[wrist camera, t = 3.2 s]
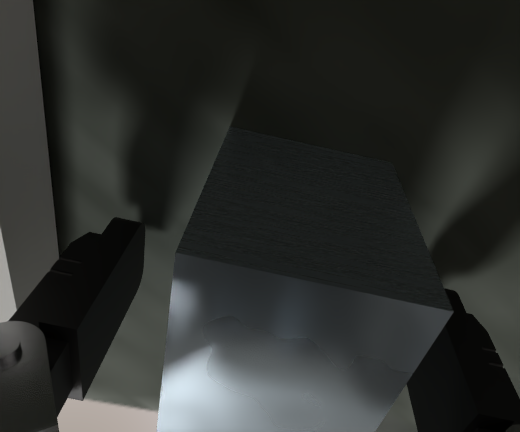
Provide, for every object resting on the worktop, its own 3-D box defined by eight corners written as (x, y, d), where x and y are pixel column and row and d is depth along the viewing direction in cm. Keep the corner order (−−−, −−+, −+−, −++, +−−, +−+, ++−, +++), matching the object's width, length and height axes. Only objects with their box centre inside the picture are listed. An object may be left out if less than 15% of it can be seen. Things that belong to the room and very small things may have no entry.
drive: (228, 124, 10) (172, 251, 6) (392, 161, 10) (456, 312, 6) (196, 320, 14) (149, 483, 9) (315, 345, 14) (320, 516, 10)
